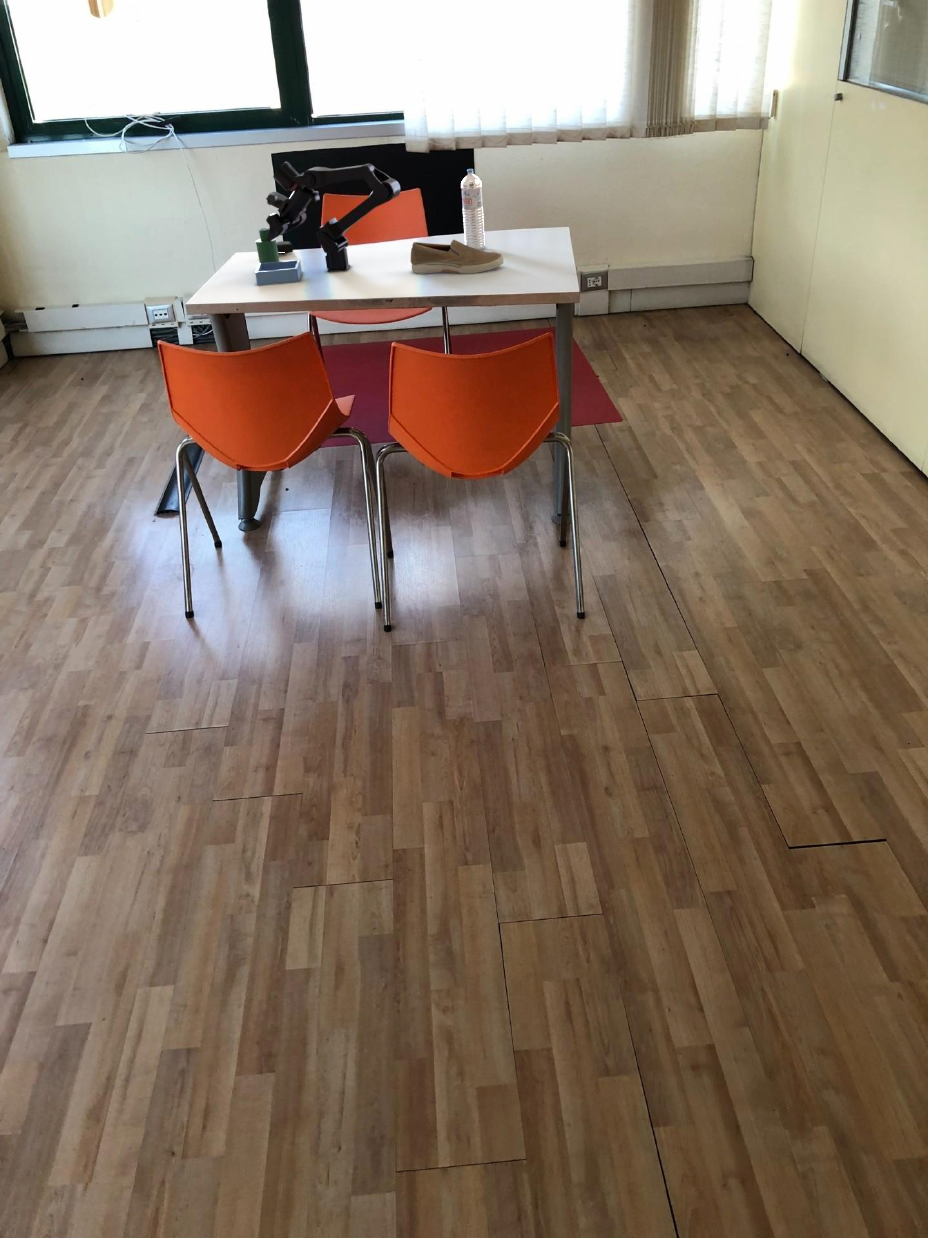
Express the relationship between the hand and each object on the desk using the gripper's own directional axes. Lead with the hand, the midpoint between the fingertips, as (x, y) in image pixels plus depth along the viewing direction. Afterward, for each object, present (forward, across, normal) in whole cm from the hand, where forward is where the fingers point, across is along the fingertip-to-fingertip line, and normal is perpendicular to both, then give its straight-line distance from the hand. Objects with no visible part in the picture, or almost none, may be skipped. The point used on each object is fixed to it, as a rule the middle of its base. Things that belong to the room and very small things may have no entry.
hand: (273, 237), depth 319 cm
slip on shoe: (-38, +1, +52) cm, 65 cm away
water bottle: (-36, -27, +51) cm, 68 cm away
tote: (+3, +12, +12) cm, 17 cm away
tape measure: (+13, -21, +1) cm, 25 cm away
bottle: (+10, 0, +5) cm, 11 cm away
